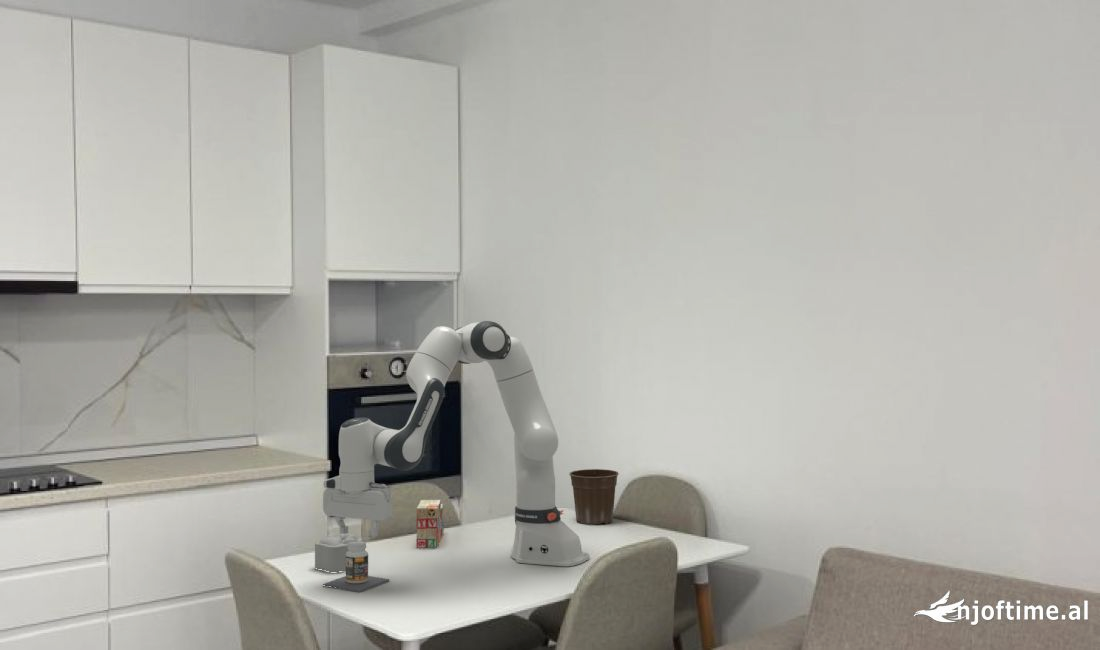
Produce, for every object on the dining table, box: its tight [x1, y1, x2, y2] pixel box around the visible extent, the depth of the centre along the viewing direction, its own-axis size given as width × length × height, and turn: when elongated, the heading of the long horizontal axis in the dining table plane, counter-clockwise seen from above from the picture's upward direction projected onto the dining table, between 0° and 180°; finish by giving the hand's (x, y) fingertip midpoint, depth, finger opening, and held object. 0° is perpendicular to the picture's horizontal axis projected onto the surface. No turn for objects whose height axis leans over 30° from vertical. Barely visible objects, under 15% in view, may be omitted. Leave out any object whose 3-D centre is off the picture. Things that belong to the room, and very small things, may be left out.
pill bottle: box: [345, 541, 369, 584], centre depth 278 cm, size 6×6×10 cm
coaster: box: [322, 575, 390, 593], centre depth 278 cm, size 12×12×1 cm
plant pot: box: [569, 468, 620, 525], centre depth 356 cm, size 16×16×16 cm
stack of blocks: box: [416, 499, 445, 549], centre depth 328 cm, size 21×6×12 cm, turn 1°
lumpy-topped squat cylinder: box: [314, 532, 363, 572], centre depth 296 cm, size 10×13×9 cm
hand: (358, 535), depth 278 cm, fingers open, 8 cm apart
